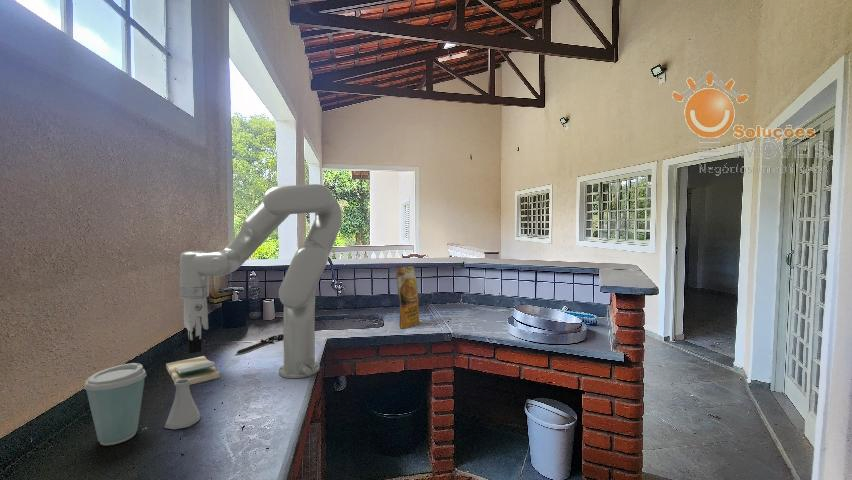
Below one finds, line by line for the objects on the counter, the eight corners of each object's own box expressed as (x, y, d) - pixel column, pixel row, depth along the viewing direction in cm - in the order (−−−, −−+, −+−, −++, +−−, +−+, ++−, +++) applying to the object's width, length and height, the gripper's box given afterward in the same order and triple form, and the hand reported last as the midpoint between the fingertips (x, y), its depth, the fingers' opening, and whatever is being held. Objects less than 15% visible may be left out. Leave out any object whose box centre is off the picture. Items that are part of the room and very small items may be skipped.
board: (219, 377, 116) (219, 372, 116) (177, 387, 108) (177, 382, 108) (204, 360, 130) (204, 355, 130) (166, 368, 123) (166, 363, 123)
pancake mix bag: (390, 328, 173) (391, 267, 172) (412, 319, 189) (413, 264, 188) (403, 330, 169) (403, 268, 168) (424, 321, 186) (424, 265, 185)
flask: (175, 415, 93) (175, 375, 92) (206, 414, 93) (206, 374, 93) (157, 431, 86) (156, 388, 85) (191, 430, 86) (190, 387, 86)
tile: (207, 360, 123) (207, 363, 123) (174, 367, 117) (174, 370, 116) (214, 362, 116) (214, 366, 116) (180, 369, 110) (180, 373, 110)
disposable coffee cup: (96, 458, 76) (94, 384, 75) (77, 441, 81) (75, 372, 81) (156, 433, 85) (154, 367, 84) (135, 420, 90) (133, 358, 90)
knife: (237, 357, 135) (237, 353, 135) (225, 354, 137) (225, 351, 137) (291, 338, 157) (291, 335, 157) (279, 336, 160) (279, 333, 160)
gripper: (214, 294, 111) (214, 355, 112) (202, 287, 122) (202, 343, 123) (185, 297, 106) (185, 361, 107) (175, 289, 117) (175, 348, 118)
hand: (194, 351), depth 115 cm, fingers closed
